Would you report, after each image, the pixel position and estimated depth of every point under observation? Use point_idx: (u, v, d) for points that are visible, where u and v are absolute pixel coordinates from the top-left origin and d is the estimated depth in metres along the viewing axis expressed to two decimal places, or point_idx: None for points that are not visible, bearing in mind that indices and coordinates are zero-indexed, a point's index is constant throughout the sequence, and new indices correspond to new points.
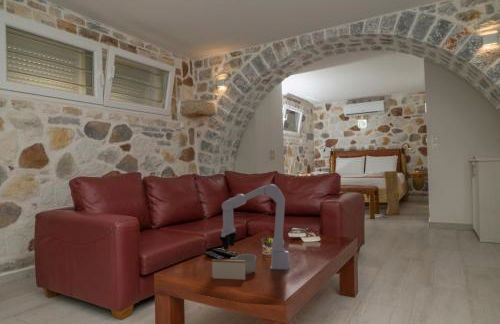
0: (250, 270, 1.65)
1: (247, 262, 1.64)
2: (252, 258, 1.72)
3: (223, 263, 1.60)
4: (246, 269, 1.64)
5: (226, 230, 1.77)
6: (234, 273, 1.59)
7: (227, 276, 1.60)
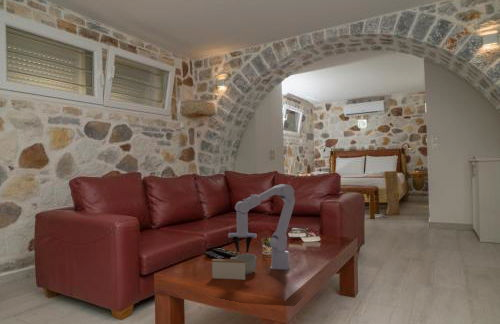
0: (250, 270, 1.65)
1: (247, 262, 1.64)
2: (252, 258, 1.72)
3: (223, 263, 1.60)
4: (246, 269, 1.64)
5: None
6: (234, 273, 1.59)
7: (227, 276, 1.60)
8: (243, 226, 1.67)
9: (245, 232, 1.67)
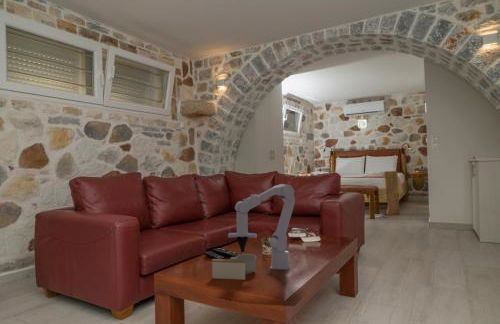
0: (250, 270, 1.65)
1: (247, 262, 1.64)
2: (252, 258, 1.72)
3: (223, 263, 1.60)
4: (246, 269, 1.64)
5: None
6: (234, 273, 1.59)
7: (227, 276, 1.60)
8: (243, 226, 1.67)
9: (245, 232, 1.67)
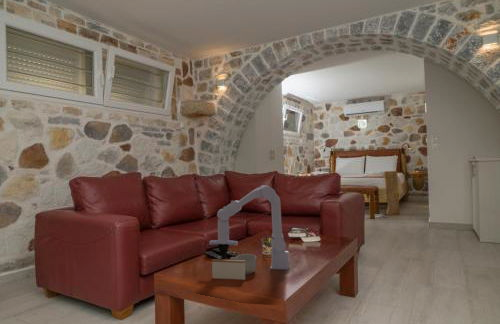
0: (250, 270, 1.65)
1: (247, 262, 1.64)
2: (252, 258, 1.72)
3: (223, 263, 1.60)
4: (246, 269, 1.64)
5: None
6: (234, 273, 1.59)
7: (227, 276, 1.60)
8: (224, 234, 1.68)
9: (226, 240, 1.69)
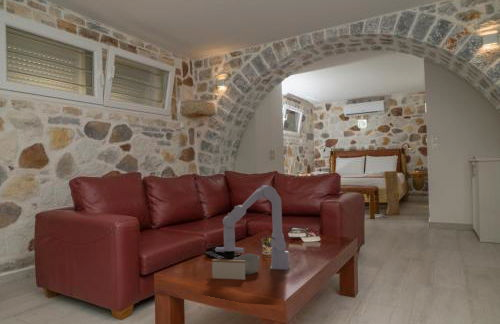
0: (253, 270, 1.64)
1: (250, 262, 1.63)
2: (255, 258, 1.72)
3: (223, 263, 1.60)
4: (249, 269, 1.64)
5: None
6: (234, 273, 1.59)
7: (227, 276, 1.60)
8: (230, 241, 1.68)
9: (232, 247, 1.68)
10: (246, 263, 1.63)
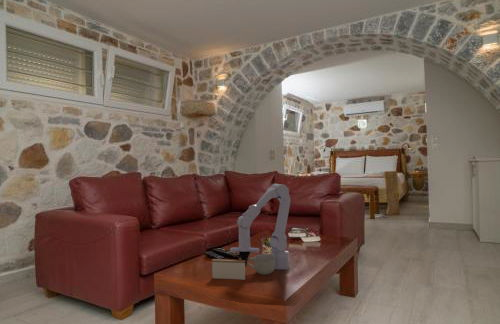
0: (269, 270, 1.63)
1: (266, 262, 1.62)
2: (270, 258, 1.71)
3: (223, 263, 1.60)
4: (265, 269, 1.62)
5: None
6: (234, 273, 1.59)
7: (227, 276, 1.60)
8: (245, 241, 1.66)
9: (247, 247, 1.67)
10: (262, 263, 1.62)
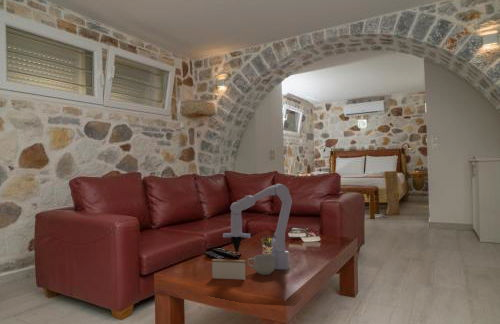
0: (269, 271, 1.63)
1: (266, 263, 1.62)
2: (270, 258, 1.71)
3: (223, 263, 1.60)
4: (265, 269, 1.62)
5: None
6: (234, 273, 1.59)
7: (227, 276, 1.60)
8: (237, 226, 1.71)
9: (239, 232, 1.72)
10: (262, 264, 1.62)
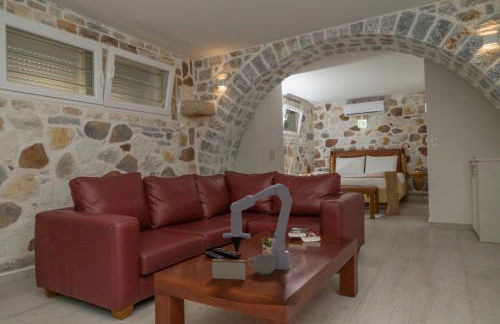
0: (269, 271, 1.63)
1: (266, 263, 1.62)
2: (270, 258, 1.71)
3: (223, 263, 1.60)
4: (265, 269, 1.62)
5: None
6: (234, 273, 1.59)
7: (227, 276, 1.60)
8: (237, 226, 1.71)
9: (239, 232, 1.72)
10: (262, 264, 1.62)
